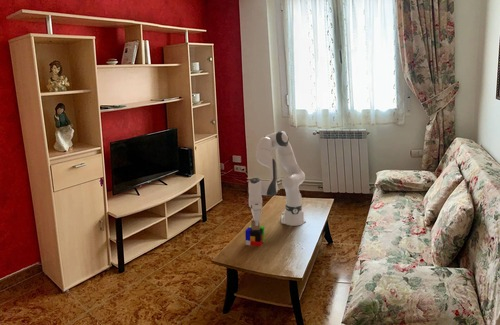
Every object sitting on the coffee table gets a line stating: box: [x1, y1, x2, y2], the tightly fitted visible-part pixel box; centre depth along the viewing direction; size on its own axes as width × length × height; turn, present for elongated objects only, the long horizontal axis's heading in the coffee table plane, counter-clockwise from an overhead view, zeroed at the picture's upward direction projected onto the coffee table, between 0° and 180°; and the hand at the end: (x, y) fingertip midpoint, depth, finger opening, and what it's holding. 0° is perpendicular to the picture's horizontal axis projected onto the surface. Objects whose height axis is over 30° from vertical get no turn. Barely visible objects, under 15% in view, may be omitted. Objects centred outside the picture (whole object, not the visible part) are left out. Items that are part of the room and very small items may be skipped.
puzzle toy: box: [244, 224, 265, 247], centre depth 277 cm, size 10×10×10 cm
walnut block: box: [250, 219, 261, 230], centre depth 275 cm, size 5×5×5 cm
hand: (255, 222), depth 274 cm, fingers open, 8 cm apart
